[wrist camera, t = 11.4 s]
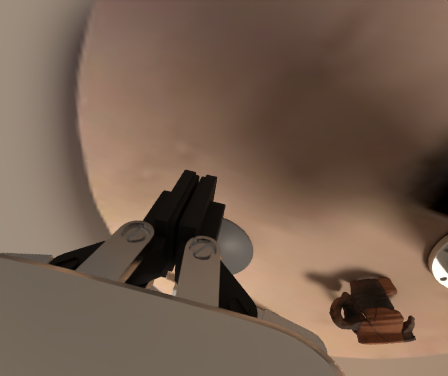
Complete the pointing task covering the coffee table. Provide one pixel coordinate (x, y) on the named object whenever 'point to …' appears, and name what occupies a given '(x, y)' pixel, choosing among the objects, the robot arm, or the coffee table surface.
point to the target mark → (234, 247)
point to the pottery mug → (372, 313)
